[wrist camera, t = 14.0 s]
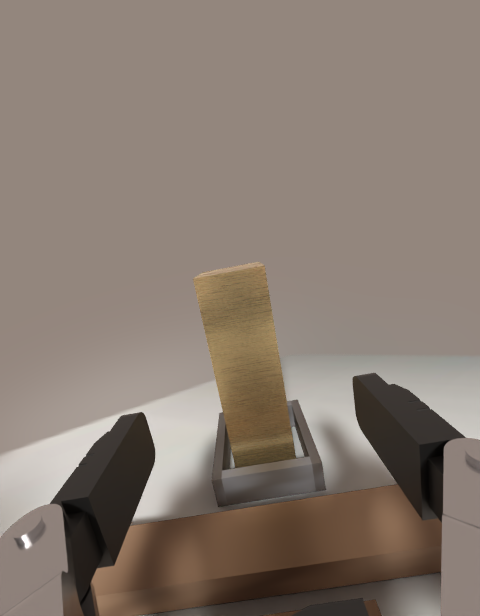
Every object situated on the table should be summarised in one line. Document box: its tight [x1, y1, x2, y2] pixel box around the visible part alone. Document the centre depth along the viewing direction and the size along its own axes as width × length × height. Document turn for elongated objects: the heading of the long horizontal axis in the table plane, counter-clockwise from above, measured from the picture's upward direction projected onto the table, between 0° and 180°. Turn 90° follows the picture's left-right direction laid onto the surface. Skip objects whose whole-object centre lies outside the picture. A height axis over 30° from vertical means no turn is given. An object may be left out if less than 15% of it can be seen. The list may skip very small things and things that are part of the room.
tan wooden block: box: [193, 262, 296, 468], centre depth 18 cm, size 4×4×14 cm
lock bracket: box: [92, 400, 442, 616], centre depth 13 cm, size 20×20×2 cm
